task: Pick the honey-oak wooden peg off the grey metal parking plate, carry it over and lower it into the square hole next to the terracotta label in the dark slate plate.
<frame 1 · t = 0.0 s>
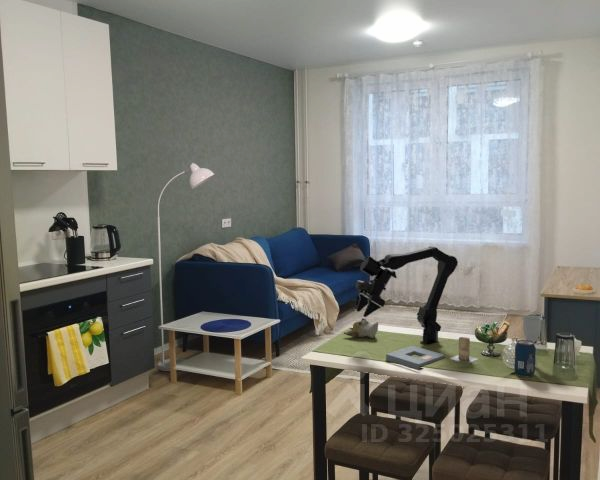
hand: (360, 313, 236), 15 cm above the table, fingers open, 9 cm apart
peg: (464, 358, 218), point 1 cm above the table, touching parking plate
chalice: (530, 364, 216), on the table
hole plate: (415, 360, 222), on the table
soda can: (524, 374, 205), on the table
parking plate: (463, 362, 219), on the table
ceramic sculpture: (362, 337, 256), on the table
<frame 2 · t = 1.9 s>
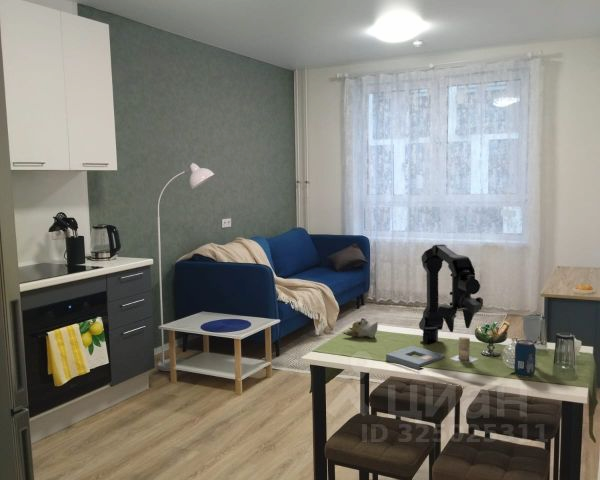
hand: (459, 330, 216), 13 cm above the table, fingers open, 9 cm apart
nothing on the table moved.
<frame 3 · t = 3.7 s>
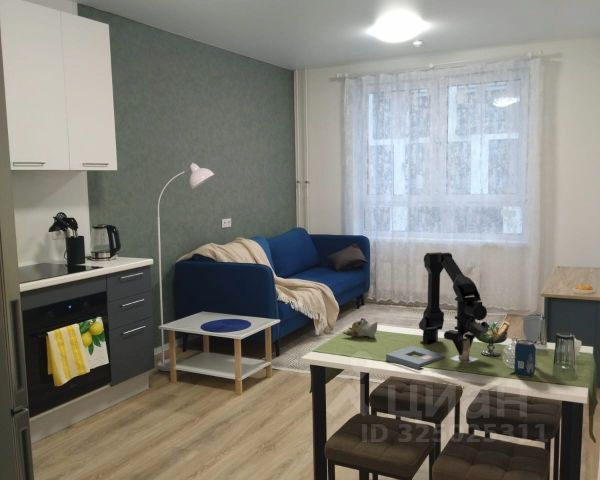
hand: (464, 353, 218), 4 cm above the table, fingers closed on peg, 4 cm apart
peg: (464, 358, 218), point 1 cm above the table, touching gripper, parking plate
everything else where it was.
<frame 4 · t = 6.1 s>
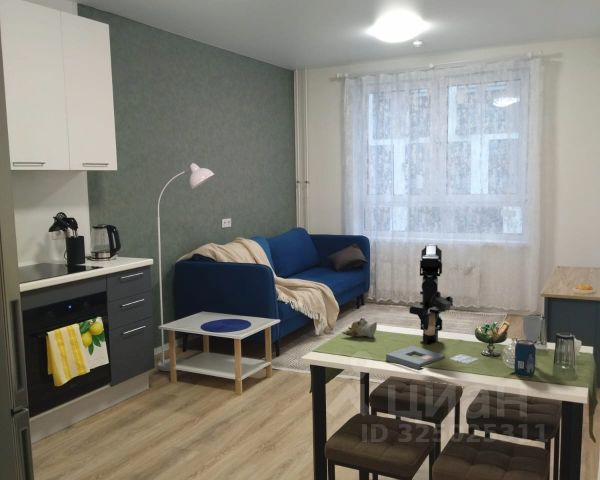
hand: (429, 328, 219), 13 cm above the table, fingers closed on peg, 4 cm apart
peg: (429, 333, 219), point 11 cm above the table, touching gripper
everything else where it was.
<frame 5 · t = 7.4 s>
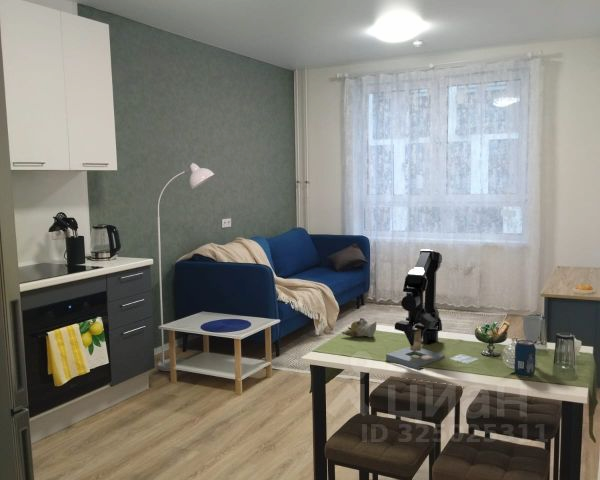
hand: (415, 344, 221), 7 cm above the table, fingers closed on peg, 4 cm apart
peg: (415, 349, 221), point 4 cm above the table, touching gripper
everything else where it was.
when the fingers open (4 cm above the table, at t = 8.4 s): peg drops 2 cm, resting in hole plate.
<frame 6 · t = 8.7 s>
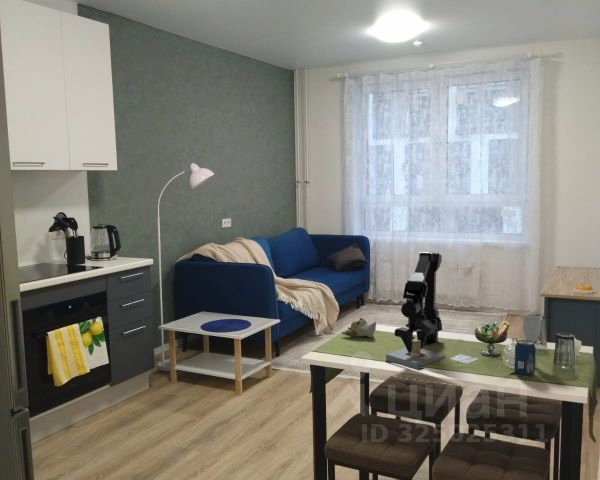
hand: (415, 350, 221), 4 cm above the table, fingers open, 7 cm apart
peg: (415, 360, 222), resting in hole plate
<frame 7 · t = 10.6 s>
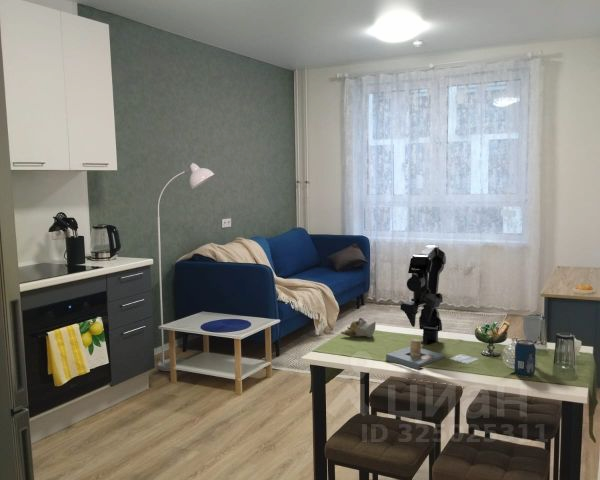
hand: (420, 324, 227), 13 cm above the table, fingers open, 9 cm apart
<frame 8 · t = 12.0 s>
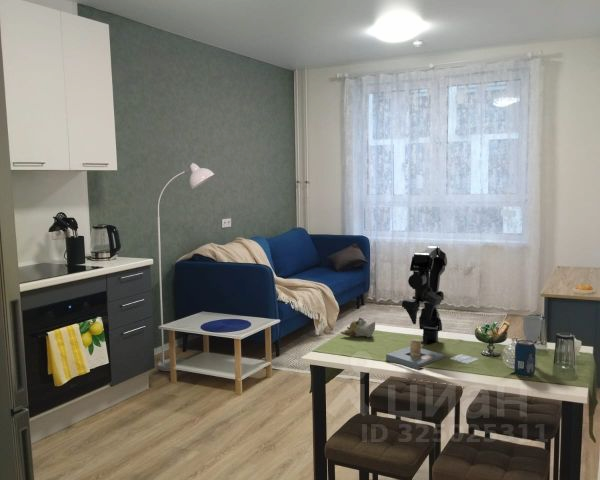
hand: (421, 322, 229), 13 cm above the table, fingers open, 9 cm apart
at the end: peg 0.1 cm off-centre on the hole plate, point 0.0 cm above the hole plate's base; peg tilted 0°; the gripper is holding nothing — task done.
